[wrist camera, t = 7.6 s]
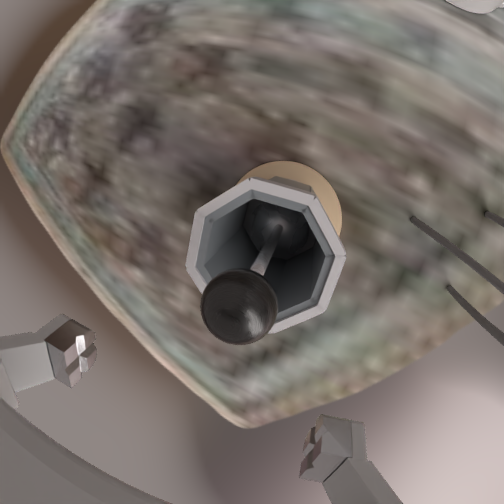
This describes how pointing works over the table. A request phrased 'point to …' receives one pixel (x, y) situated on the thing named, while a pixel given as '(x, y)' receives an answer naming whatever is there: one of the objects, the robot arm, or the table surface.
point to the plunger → (253, 278)
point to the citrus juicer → (494, 331)
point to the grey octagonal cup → (245, 252)
